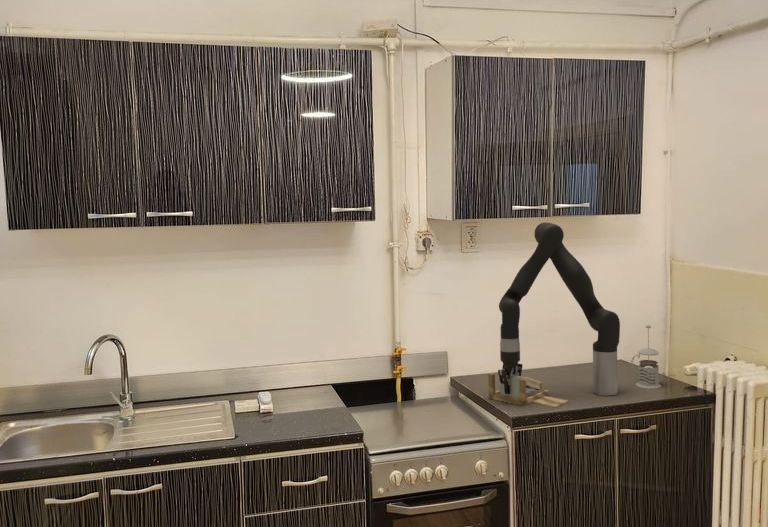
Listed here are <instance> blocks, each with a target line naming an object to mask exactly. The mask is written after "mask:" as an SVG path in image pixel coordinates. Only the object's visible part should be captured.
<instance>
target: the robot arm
mask: <svg viewBox="0 0 768 527" xmlns="http://www.w3.org/2000/svg"><path fill="white" fill-rule="evenodd" d="M564 236H565V234H564V230H563V228H562V227H561V226H560V225H558V224H556V223H555V224H554V223H552V222H541V223H539V224H538V225H537V226H536V227H535V229H534V238H535V241H536V242H537V246H536V248H535V250H534V252H533V253H532V254H531V256H530V257H529V259H528V260H527V261H526V262H525V263H524V264H523V265H522V266H521V267H520V269H519V271H517V274H516V275H515V277H514V279H513V281H512V282H511V285H510V286H509V288H508V289H507V290H506V291H505V293H504V294H503V296H502V297H501V299H500V301H499V304H498V308H499V311H500V313H501V325H500V342H499V347H500V348H499V349H500V350H499V354H500V362H502V368H501V369H498V370H497V373H498V374H497V375H498V379H499V378H500V383H502V384H504V392H505V394H510V380H511V379H512V375H517V376H522V372H523V363H519V362H520V361H521V345H520V344H521V342H520V328H519V325H520V318H521V308H520V303H521V301H522V299H523V298H524V297H525V296H527V294H528V293H529V291H530V290H531V287H532V286H533V284H534V283H535V281H536V279H537V277H538V275H539V273H540V272H541V271H542V269H543V267H544V266H545V265H546V263H547V262H548V260H549V259H550V260H551V262H552V264H553V266H554V268H555V269H556V271H557V273H558V274H559V276H560V278H561V279H562V281H563V283H564V284H565V286H566V287H567V289H568V290H569V292H570V293H571V295H572V297H573V298H574V299H575V301H576V302H577V304H578V306H579V307H580V308H581V310H582V312H583V313H584V316H585V318H586V320H587V322H588V324H589V326H590V328H592V329H593V330H594V331H595V332H597V340H596V341H594V342H593V343H592V378H593V379H592V392H593V394H596V395H599V396H617V395H618V391H619V389H618V386H619V385H618V384H619V383H618V382H619V381H618V380H619V379H618V378H619V377H618V373H619V372H618V346H619V344H620V336H621V334H620V333H621V332H620V331H621V321H620V318H619V315H618V314H617V313H615V311H611V310H608V309H605V308H604V307H603V306H602V304H601V303H600V302H599V300H598V299H597V297H596V295H595V292H594V291H595V290H594V287H593V282H592V279H591V277H590V276H589V274H588V272H587V271H586V270H585V268H584V266H583V265H582V263H581V262H579V261H578V259H576V257H575V256H574V255H573V254H572V253H571V252H570V251H569V250H568V249H567V247H566V245H564V243H563V240H564ZM506 375H508V376H509V377H508V376H506ZM507 378H508V381H507ZM503 379H504V380H503Z"/></svg>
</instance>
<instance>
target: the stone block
mask: <svg viewBox="0 0 768 527" xmlns="http://www.w3.org/2000/svg"><path fill="white" fill-rule="evenodd" d="M537 393H540V389H538V388H535V387H532V386H529V385H526V398H528V397H530V396H533V395H535V394H537Z"/></svg>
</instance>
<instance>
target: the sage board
mask: <svg viewBox="0 0 768 527" xmlns="http://www.w3.org/2000/svg"><path fill="white" fill-rule="evenodd" d="M506 376H508V375H506ZM508 377H509V376H508ZM522 377H523V376H522V375H521V376H517V375H512V379H511V380H510V394H505V392H504V384H502V383H500V378H499V377H498V384H499V387H498V388H499V389H498V390H499V394H500V395H502V396H507V397H512V398H517V399H520V389H519V380H520V379H522ZM503 380H504V379H503ZM507 381H508V378H507Z"/></svg>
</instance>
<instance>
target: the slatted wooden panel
mask: <svg viewBox="0 0 768 527" xmlns="http://www.w3.org/2000/svg"><path fill="white" fill-rule="evenodd" d="M566 403H567V404H568V403H569V400H568V399H562V398H559V397H558V398H557V397H552V396H549V395H548V396H544V397H542V398H540V399H537V400H535V401H533V402H532V404H537V405H542V406H545V407H550V408H559V407H560V406H563V405H565V404H566Z"/></svg>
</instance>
